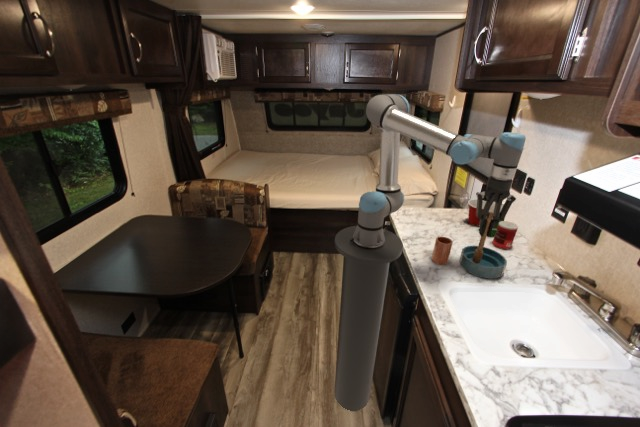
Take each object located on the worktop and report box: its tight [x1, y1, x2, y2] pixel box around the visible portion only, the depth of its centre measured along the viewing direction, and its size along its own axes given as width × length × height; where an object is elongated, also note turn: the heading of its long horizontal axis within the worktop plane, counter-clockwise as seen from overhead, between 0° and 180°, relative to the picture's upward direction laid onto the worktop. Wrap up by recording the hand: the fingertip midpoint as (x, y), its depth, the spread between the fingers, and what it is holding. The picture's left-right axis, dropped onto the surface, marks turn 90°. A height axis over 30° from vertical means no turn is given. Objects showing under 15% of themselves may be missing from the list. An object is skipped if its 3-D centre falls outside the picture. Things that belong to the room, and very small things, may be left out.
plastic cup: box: [467, 198, 486, 226], centre depth 156 cm, size 11×11×12 cm
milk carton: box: [478, 199, 507, 237], centre depth 145 cm, size 9×9×20 cm
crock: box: [431, 236, 454, 266], centre depth 123 cm, size 6×6×10 cm
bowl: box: [458, 245, 508, 279], centre depth 120 cm, size 16×16×6 cm
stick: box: [472, 212, 493, 263], centre depth 115 cm, size 3×3×22 cm
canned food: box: [492, 220, 519, 250], centre depth 136 cm, size 8×8×11 cm
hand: (484, 234), depth 114 cm, fingers closed on stick, 2 cm apart
